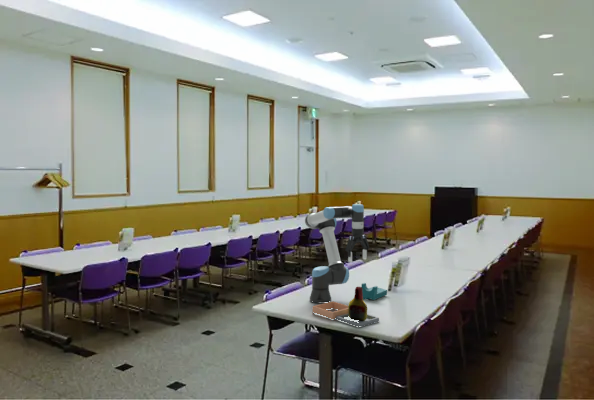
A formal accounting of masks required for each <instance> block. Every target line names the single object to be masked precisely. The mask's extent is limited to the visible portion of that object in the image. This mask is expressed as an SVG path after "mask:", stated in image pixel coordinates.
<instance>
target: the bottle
mask: <svg viewBox="0 0 594 400" xmlns="http://www.w3.org/2000/svg"><path fill="white" fill-rule="evenodd" d="M347 306H348V313H349V317H350V318H351V319H354V320H359V321H364V320H366V318H367V314H368V306H367V303H366V302H365V301H364V299H363V294H362V287H361V286H356V287H355V289H354V297H353V298H352V299H351V300H350V301H349V302H348V305H347Z"/></svg>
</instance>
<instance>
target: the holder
mask: <svg viewBox="0 0 594 400" xmlns="http://www.w3.org/2000/svg"><path fill="white" fill-rule="evenodd" d="M348 306H349V305H347V304H344V303H340V302H336V301H334V300H333V301H331V302H328V303H319V304H316V305H313V306H312V313H313V312H314V313H317V314H320V315H323V316H326V317H328V318H331V319H335V318H336V316H340V315H344V314H347V313H348ZM331 308H334V309H338V311H336V310H333V311H332V310H329V311H328V310H326V309H331Z"/></svg>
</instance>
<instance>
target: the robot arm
mask: <svg viewBox="0 0 594 400" xmlns="http://www.w3.org/2000/svg"><path fill="white" fill-rule="evenodd" d="M364 214H365V209H364V205H363V203H362V204H361V203H359V204H358V203H353V204H352V206H351V205H346V206H329V207H327V206H326V207H324V209H323V210H321V211H318V212H314V213H312V212H311V213H309V214H307V215H306V216H305V218H304V223H305V225H306V227H307V228H310V229H312V230H318V231H319V233H320V234H322V239H323V243H324V248H325V251H326V256H327V261H328V266H326V265H324V266H323V265H321V266H317V267H314V268H313V269H312V271H311V293H310V295H309V302H310V301H313V302H329V301H331V302H332V296H331V292H330V286H334V285H344V284H346V283H347V282H348V281H349V278H350V270H349V268H348V266H345V264H344V262H342V261H341V257H340V252H339V247H338V243H337V239H336V236H335V230H336V227H337V224H338V223H337V222H338V221H337V219H349V218H350V219H351V234H352V236H351V235H349V236H348V241H347V244H346V247H345V250H344V251H346V252H347V257H348V258H347V262H348V263H353V252H352V251H353V249H354V248H355V246H356V244H357V243H360V245H361V247H362V248H363V249H362V260H365V261H366V260H367V255H368V251H369V249H370V245H369V241H368V239H367V235H366V234H364V222H365V220H364V218H365V217H364V216H365V215H364ZM313 302H312V303H313Z"/></svg>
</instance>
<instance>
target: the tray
mask: <svg viewBox="0 0 594 400" xmlns="http://www.w3.org/2000/svg"><path fill="white" fill-rule="evenodd" d="M348 316H349V313H347V314H344V315H340V316H336V319H338V320H341V321H344V322H347V323H349V324H352V325H355V326H358V327H359V326H363V327H365V326H364V325H367V326H369V325H368V324H370V325H372V324H371V323H373V324H375V323H374V322H377V323H379V322H380V317H378V316H375V315H373V314H372V315H371V314H368V313H367V318H366V320H364V321H358V322H359V323H357V322H354V321H350V320H347V319H344V317H348ZM378 321H379V322H378Z"/></svg>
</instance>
